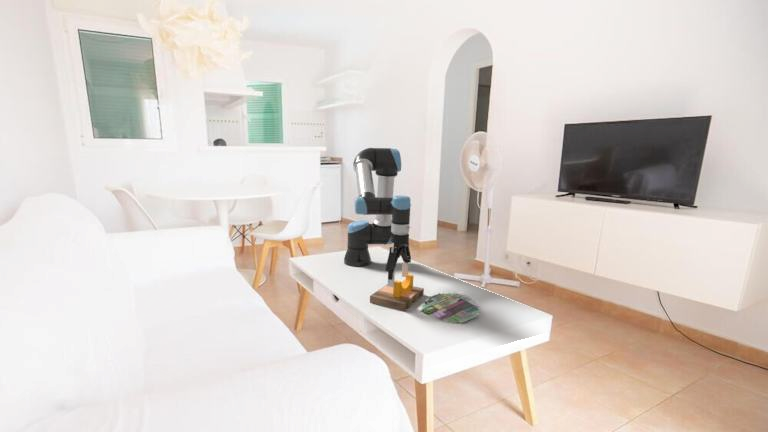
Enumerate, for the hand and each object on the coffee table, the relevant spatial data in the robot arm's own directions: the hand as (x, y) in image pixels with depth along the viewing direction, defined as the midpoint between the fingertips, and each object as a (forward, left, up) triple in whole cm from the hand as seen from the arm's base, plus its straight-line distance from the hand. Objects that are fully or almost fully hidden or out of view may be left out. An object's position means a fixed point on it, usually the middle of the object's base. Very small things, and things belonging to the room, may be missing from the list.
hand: (398, 281), depth 159 cm
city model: (0, +23, -8) cm, 25 cm away
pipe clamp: (0, +2, -5) cm, 5 cm away
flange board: (0, 0, -8) cm, 8 cm away
